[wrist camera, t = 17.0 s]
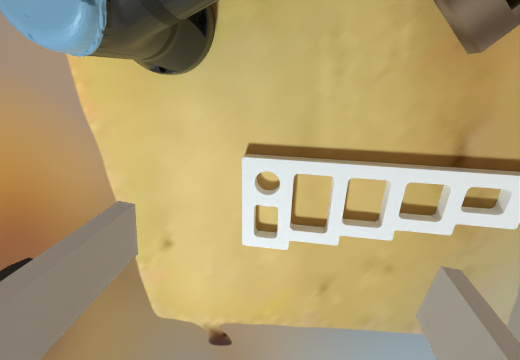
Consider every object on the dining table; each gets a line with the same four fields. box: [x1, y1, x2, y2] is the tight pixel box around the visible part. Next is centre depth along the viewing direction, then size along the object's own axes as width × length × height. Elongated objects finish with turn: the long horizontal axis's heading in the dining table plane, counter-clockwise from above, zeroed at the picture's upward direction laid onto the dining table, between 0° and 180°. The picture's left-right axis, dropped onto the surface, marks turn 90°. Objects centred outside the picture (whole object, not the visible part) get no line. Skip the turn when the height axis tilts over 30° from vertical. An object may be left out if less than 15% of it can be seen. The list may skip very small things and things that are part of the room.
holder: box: [242, 154, 520, 250], centre depth 46 cm, size 45×18×3 cm, turn 89°
